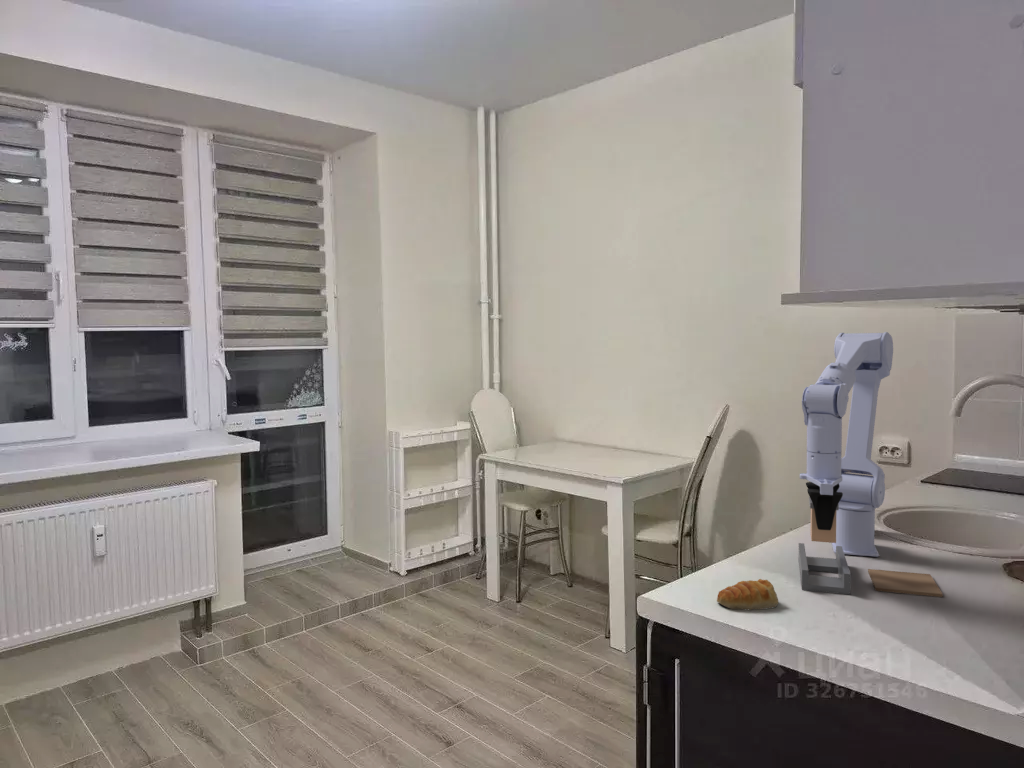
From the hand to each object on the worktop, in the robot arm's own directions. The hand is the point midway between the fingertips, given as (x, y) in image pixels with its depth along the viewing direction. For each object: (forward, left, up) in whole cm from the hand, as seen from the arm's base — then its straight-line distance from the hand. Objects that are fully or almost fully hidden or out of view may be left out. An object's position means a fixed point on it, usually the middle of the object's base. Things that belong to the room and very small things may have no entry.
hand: (823, 525), depth 128 cm
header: (0, 0, -9) cm, 9 cm away
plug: (0, 0, -2) cm, 2 cm away
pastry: (+17, -12, -10) cm, 23 cm away
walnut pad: (0, +13, -9) cm, 16 cm away
